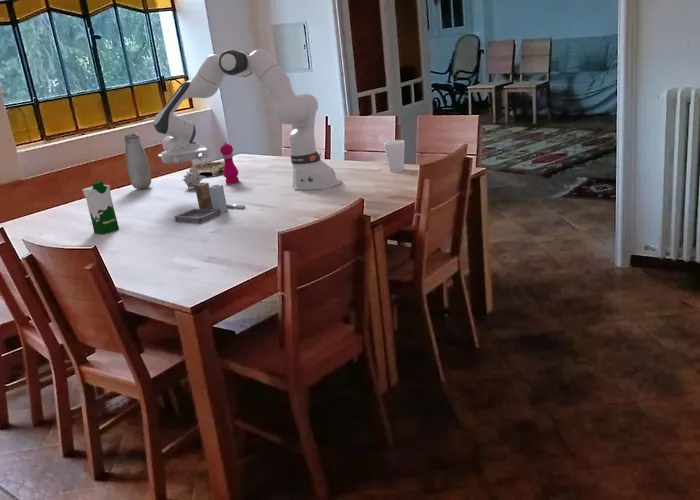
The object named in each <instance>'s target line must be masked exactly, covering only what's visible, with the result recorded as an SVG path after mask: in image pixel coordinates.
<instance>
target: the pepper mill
mask: <svg viewBox="0 0 700 500" xmlns="http://www.w3.org/2000/svg"><path fill="white" fill-rule="evenodd" d="M219 151H220V154H222V155H221V156H222V159H223V162H225V166H224V170H223V172H222V176H223V177H224V178H225V183H226V184H228V185H229V184H236V183H238V182H240V180H239V177H238V176H239V169H238V168H237V166H236V165H235V163H234V160H233V158H234V155H233V151H234V148H233V146H232V145H231V144H229V143H228V142H227V140H223V145H221V146H220V148H219Z"/></svg>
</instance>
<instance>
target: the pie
mask: <svg viewBox="0 0 700 500" xmlns="http://www.w3.org/2000/svg"><path fill="white" fill-rule="evenodd" d="M224 166H225V162H224V160H223V161H222V160H219V161H209V162H204V163H203V162H202V163H198V164H197V163H196V164H194V165H193V166H191V167H190V168H189V172H188V173H192V172H196V171H197V174H198V175H199V177H200V179H204V178H207V176H206V175H201V173H211V174H212V175H211V177H220V175H221V173H223V170H224ZM183 177H186V175H185V174H184V175H183Z"/></svg>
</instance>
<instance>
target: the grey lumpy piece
mask: <svg viewBox="0 0 700 500" xmlns="http://www.w3.org/2000/svg"><path fill="white" fill-rule="evenodd" d="M199 175H200V174H199ZM199 175H198V174H197V171H196V172H192V173H190V172H188V171H186V175H185V176H184V178H183V181H184V183H185V184H186V186H187V187H188V188H187V189H188V190H189V189H190V188H195V185H196V184H199V183H201V181H203V179H204V178H200V177H199Z"/></svg>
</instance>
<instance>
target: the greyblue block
mask: <svg viewBox="0 0 700 500" xmlns="http://www.w3.org/2000/svg"><path fill="white" fill-rule="evenodd" d="M209 192H210V197H211V202H212V207H213V209H212V210H219V212H220V215H222V214H223V213H224V214H225V213H226V212H229V211H228V208H227V205H228V204H227V200H226V199H227V198H226V195H225V190H224V185H223V184H213V185H211V186H210V185H209ZM226 204H227V205H226Z"/></svg>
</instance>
